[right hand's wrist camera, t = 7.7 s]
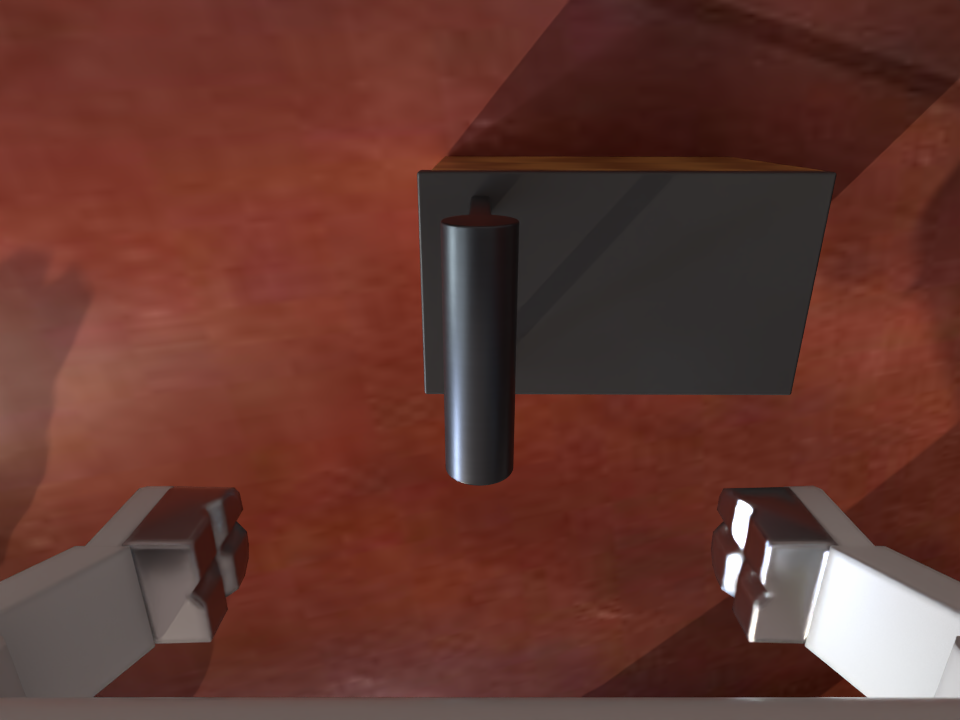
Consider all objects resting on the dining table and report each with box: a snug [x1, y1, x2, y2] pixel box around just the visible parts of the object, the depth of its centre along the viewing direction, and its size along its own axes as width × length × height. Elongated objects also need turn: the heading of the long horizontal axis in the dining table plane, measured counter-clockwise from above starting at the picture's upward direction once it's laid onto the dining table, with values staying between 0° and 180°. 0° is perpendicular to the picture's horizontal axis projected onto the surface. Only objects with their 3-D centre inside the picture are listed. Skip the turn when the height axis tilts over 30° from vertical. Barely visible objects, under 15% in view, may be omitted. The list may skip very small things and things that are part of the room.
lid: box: [417, 170, 836, 485], centre depth 21 cm, size 16×9×9 cm, turn 90°
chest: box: [432, 156, 823, 171], centre depth 29 cm, size 15×9×9 cm, turn 90°
